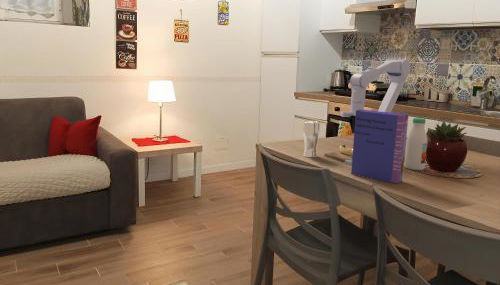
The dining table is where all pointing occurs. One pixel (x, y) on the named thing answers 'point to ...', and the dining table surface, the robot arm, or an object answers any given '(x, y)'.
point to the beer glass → (311, 138)
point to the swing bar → (346, 150)
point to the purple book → (379, 145)
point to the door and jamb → (340, 157)
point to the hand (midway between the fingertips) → (354, 133)
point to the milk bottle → (416, 146)
